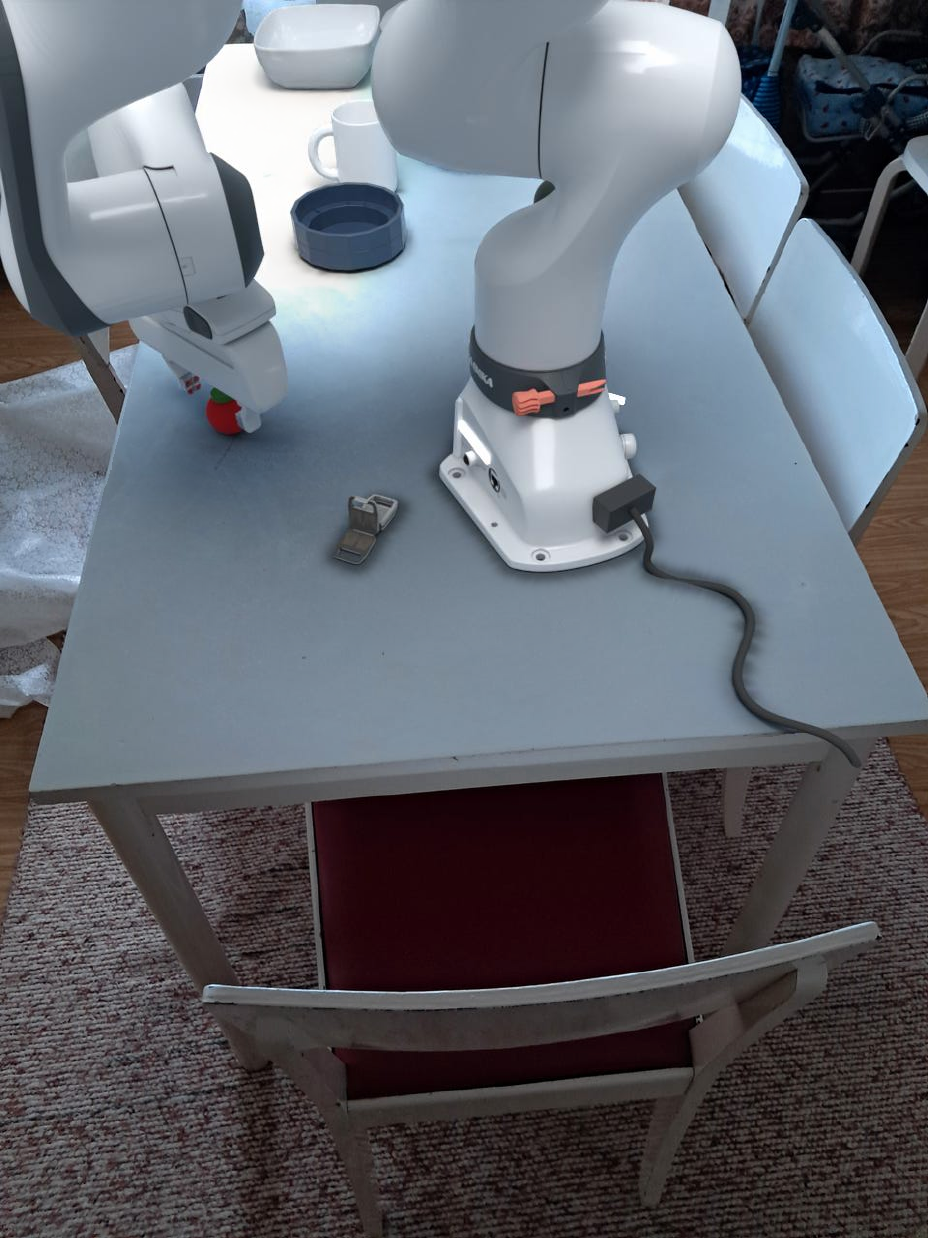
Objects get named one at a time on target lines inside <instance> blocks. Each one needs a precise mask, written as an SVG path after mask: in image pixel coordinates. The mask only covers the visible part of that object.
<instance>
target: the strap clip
mask: <svg viewBox="0 0 928 1238" xmlns="http://www.w3.org/2000/svg"><path fill="white" fill-rule="evenodd" d="M354 502H358V503H361V504H363V505H362V507H359V506H356V505H355V503H354ZM380 503H381V504H380ZM383 504H385V505H383ZM386 505H388V506H386ZM389 506H390V507H389ZM347 509H348V519H349V526H350V527H351V528H352V529H348V531H347V532H345V534H344V535H343V537H342V539H340V540H339V541H338V543H337V544H336V546H335V548H334V549H333V554H332V555H333V557H334V558H336V559H339V560H341V561H345V562H347V563H350V564H353V565H360V564H361V563H362V562H364V561H365V560H366V558H368V556H369V554H370V552H371V550H372V549H373V547H374V545H375V543H376V541H377V539H376V535H377V534H378V533H379V532H380V531H384V530H385V528H387V527H388V525H389V524H390V522H391V521H392V520H393V518H394V517H395V516H396V514H397V512H398V509H399V502H398V500H397V499H394V498H391V497H388V496H385V495H380V494H376V493H375V494H372V495H370V496H369V497H368V498H364V497H361V496H358V495H355V494H352V495H350V496H349V498H348V503H347ZM342 550H344V551H347V552H349V553H353V554H356V555H360V556H359V557H357V559H356V558H352V557H349V556H346V555H342V554H339V553H340V552H341V551H342Z"/></svg>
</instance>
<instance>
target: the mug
mask: <svg viewBox="0 0 928 1238" xmlns="http://www.w3.org/2000/svg"><path fill="white" fill-rule="evenodd" d="M330 119H331V120H330V121H331V122H327V123H323V124H321V125H319V126H318V127H317V128H316V129H314V130H313V132H312V134H311V135H310V138H309V141H308V146H307V153H308V159H309V162H310V165H311V166H312V168H313V169H314V171H315V172H316V173H317V174H318V175H319V176H321V177H322V178H323V179H326V180H329V181H338V183H343V182H362V183H371V184H375V185H379V186H383V187H386V188H388V189H390V190H391V191H393V192H395V193H396V191H397V188H398V166H397V165H398V163H397V151H396V150H395V149H394V147H393V146H392V145H391V143H390V142H389V140H388V139H387V137H386V136H385V134H384V132H383V130H382V128H381V126H380V123H379V121H378V118H377V115H376V112H375V108H374V103H373V99H354V100H348V101H345V102H343V103H339V104H338V105H336V106H334V107H333V109H332V110H331V111H330ZM327 137H333V143H334V152H335V161H336V167H337V168H328V167H326V166H325V165H324V164H323V163H322V161H321V160H320V157H319V145H320V143H321V141H322V140H323V139H324V138H327Z"/></svg>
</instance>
